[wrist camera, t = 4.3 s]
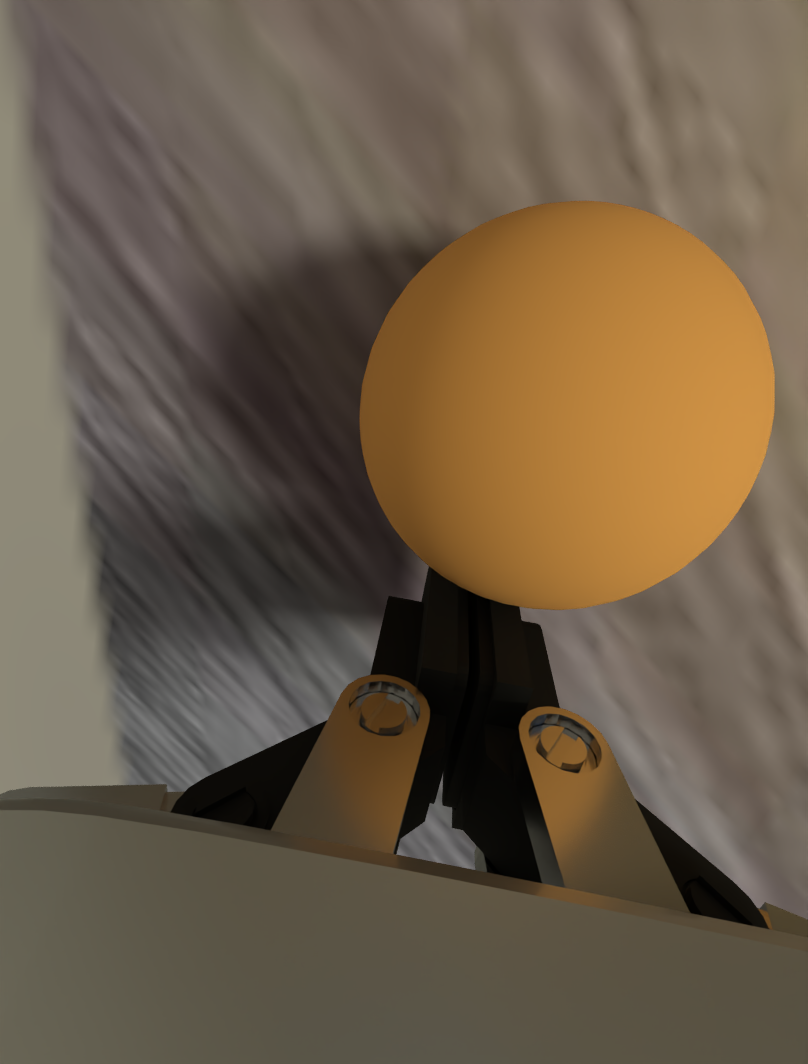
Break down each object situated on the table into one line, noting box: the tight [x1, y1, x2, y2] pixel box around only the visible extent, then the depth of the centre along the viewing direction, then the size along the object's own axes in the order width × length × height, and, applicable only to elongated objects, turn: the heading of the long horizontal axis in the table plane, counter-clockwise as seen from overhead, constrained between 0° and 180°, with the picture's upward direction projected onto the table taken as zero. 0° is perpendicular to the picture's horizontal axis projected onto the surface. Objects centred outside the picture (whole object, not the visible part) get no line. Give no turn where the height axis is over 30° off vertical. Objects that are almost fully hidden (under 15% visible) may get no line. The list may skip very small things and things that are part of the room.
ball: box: [359, 201, 774, 610], centre depth 8 cm, size 6×6×6 cm
